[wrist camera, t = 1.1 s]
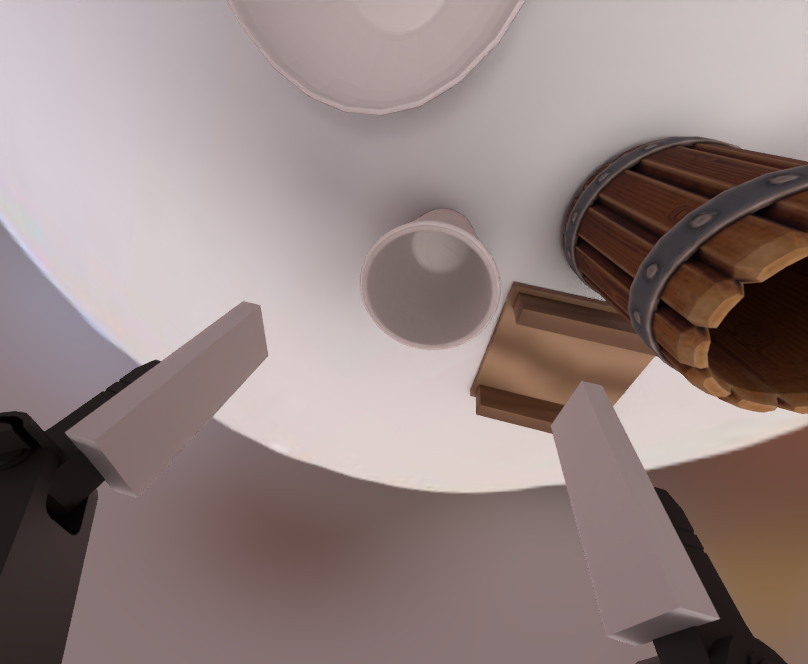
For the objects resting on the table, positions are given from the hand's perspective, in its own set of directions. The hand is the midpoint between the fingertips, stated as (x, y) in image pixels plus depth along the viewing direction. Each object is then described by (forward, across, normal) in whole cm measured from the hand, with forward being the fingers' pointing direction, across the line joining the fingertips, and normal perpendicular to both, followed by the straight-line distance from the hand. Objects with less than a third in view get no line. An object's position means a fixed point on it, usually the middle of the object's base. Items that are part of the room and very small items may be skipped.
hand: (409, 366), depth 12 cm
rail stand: (+16, +14, -9) cm, 23 cm away
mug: (+17, +16, +6) cm, 24 cm away
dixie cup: (+17, 0, 0) cm, 17 cm away
